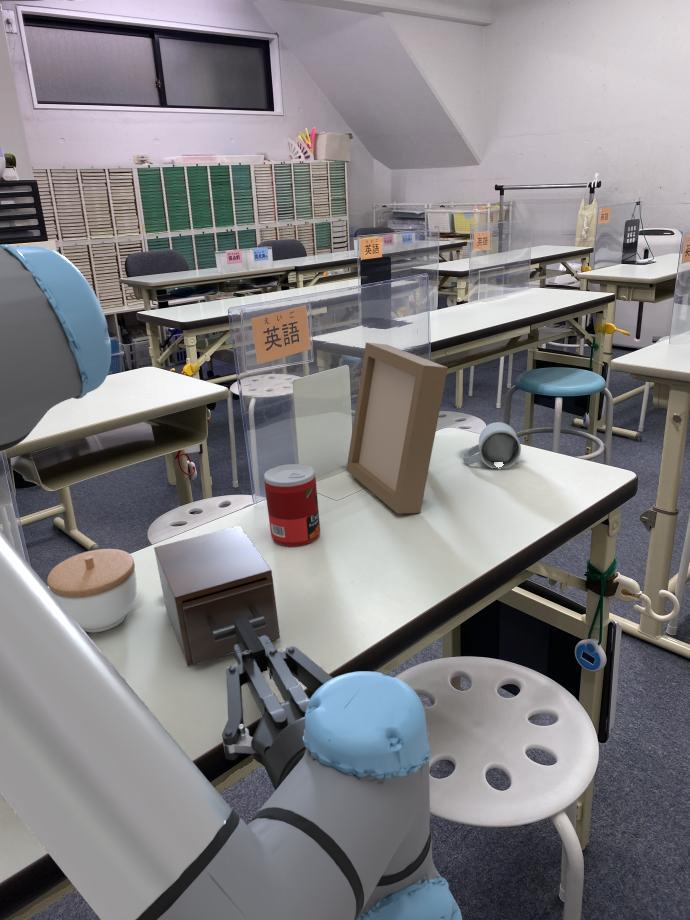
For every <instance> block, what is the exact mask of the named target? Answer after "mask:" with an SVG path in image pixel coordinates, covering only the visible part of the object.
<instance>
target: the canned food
mask: <svg viewBox="0 0 690 920" xmlns="http://www.w3.org/2000/svg"><path fill="white" fill-rule="evenodd" d="M315 472H316V471H315V469H314V468H313V467H311V466H309V465H306V464H299V463H289V464H282V465H278V466H274V467H272V468H270V469H268V470H267V471H265V472H264V474H263V481H264V492H265V499H266V507H267V514H268V515H267V516H268V520H269V521H268V523H269V530H270V536H271V538H272V540H273V542H274V543H276V544H279V545H281V546H283V547H301V546H305V545H308V544H312V543H313V542H314V541H316V540H317V539H318V538H319V536H320V533H321V524H320V523H321V522H320V511H319V501H318V500H319V499H318V489H317V479H316V473H315Z"/></svg>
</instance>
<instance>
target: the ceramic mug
mask: <svg viewBox="0 0 690 920" xmlns="http://www.w3.org/2000/svg"><path fill="white" fill-rule="evenodd" d="M521 453H522V445H521V441H520V440H519V438H518V436H517V434H516V431H515V429H514V428H513V427H512V426H510V425H509V424H507V423H506V422H501V421H498V422H497V421H496V422H492V423H489V424H487V425H486V426H485V427H484V428H483V429H482V431H481V432H480V435H479V436H478V444H475V445H474V446H472V447H470V448H468V449H467V450H465V451H464V452H463V454H462V460H463V462H464V464H465V465H474V464H477V463H479V462H482V463H483V464H484V465H486V466H487V467H489V468H491V469H493V468H498V467H496V466H495V465H494V462H503V464H504V465H503V466H502V467H499V468H506V469H509V468H511V467H513V466H514V465H515V464H516V463H517V461H518V460H519V458H520V456H521Z"/></svg>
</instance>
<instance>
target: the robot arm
mask: <svg viewBox="0 0 690 920" xmlns="http://www.w3.org/2000/svg"><path fill="white" fill-rule="evenodd" d="M106 318H107V317H106V316H105V313H104V310H103V307H102V305H101V303H100V301H99V299H98V297H97V295H96V292H95V291H94V290H93V288H92V286H91V284H90V283H89V282H88V280H87V278H86V277H85V276H84V275H83V273H82V272H81V271H80V269H78V268H77V267H76V265H75V264H73V263H72V262H71V261H70V260H69V259H68V258H67V257H65V256H64V255H62V254H61V253H59V252H58V251H56V250H53V249H51V248H47V247H45V246H41V245H21V246H11V245H9V244H0V454H1V453H3V452H6V451H8V450H11V449H13V448H14V447H16V446H18V445H19V444H20V443H22V442H23V441H25V440H26V438H28V436H29V435H30V434H31V433H32V432H33V430H34V429H35V428H36V427H37V425H38V424H39V423H40V422H41V420H42V419H43V418H44V417H45V415H47V413H49V411H50V410H51V409H52V408H54V407H56V406H57V405H59V404H61V403H62V402H65V401H69V400H71V399H75V400H79V399H83V398H84V397H85V396H86V395H87V394H89V393H91V392H93V391H96V390H97V389H99V388H100V387H101V385H103V384H104V382H105V381H106V379H107V377H108V375H109V372H110V367H111V362H112V343H111V337H110V334H109V331H108V330H109V329H108V322H107V319H106ZM234 625H235V632H236V639H237V642H238V644H237V645H234V658H235V661H236V663H237V665H231V666H228V667H227V668H226V671H225V673H226V675H225V676H226V695H227V697H226V699H227V721H226V724H225V726H224V728H223V731H222V733H221V739H222V744H223V749H224V756H225V759H226V760H228V761H234V760H236V759H237V758H239V756H240V754H247V755H252V757H253V759H254V760H255V761H256V762H257V763H258V764H260V765H262V766H263V767H264V768H265V771H266V773H267V776H268V778H269V780H270V782H271V785H272V787H273V789H274V792H273V793H272V794H271V795H270V797H269V798H267V800H266V801H265V802H264V804H263V805H262V806H261V807H260V809H259V810H258V811H257V812H256V814H254V816H253V817H252V818H251V820H250V821H249V822H248V823H247V824H246V822H245V821H244V820H243V819H242V817H240V816H239V815H238V814H237V813H236V811H235V810H234V809H233V808H232V807H231V806H230V805H229V804H228V803H227V801H226V800H225V799H224V798H223V797H222V795H221V794H220V793H219V792H218V790H217V789H216V788H215V787H214V785H213V784H212V783H211V782H210V780H209V779H208V778H207V777H206V776H205V775H204V774H203V772H202V771H201V769H200V768H199V767H197V765H196V764H195V763H194V761H193V760H192V759H191V758H190V757H189V755H188V754H187V753H186V752H185V751H184V749H183V748H182V747H181V746H180V745H179V743H178V742H177V741H176V740H175V739H174V738H173V736H172V735H171V733H169V731H168V730H167V729H166V728H165V726H164V725H163V724H162V722H160V720H159V719H158V718H157V717H156V715H154V713H153V712H152V711H151V709H149V707H148V706H147V704H145V702H144V701H143V700H142V699H141V697H139V695H138V694H137V693H136V692H135V690H134V689H133V688H132V687H131V686H130V685H129V683H128V682H127V681H126V680H125V678H124V677H123V676H122V675H121V673H120V672H119V671H118V670H117V669H116V668H115V666H114V665H113V663H111V661H110V660H109V659H108V657H106V655H105V654H104V653H103V652H102V651H101V649H100V648H99V646H97V644H96V643H95V642H94V641H93V639H91V637H90V636H89V635H88V634H87V632H85V631H84V630H83V629H82V628H81V627H80V625H79V624H78V623H77V622H76V621H75V619H74V618H73V617H72V616H71V614H70V613H69V612H68V611H67V610H66V608H65V607H64V606H63V605H62V604H61V602H60V601H59V600H58V599H57V598H56V596H55V595H54V594H53V593H52V592H51V590H50V589H49V586H48V585H47V583H45V582H44V581H43V579H42V578H41V577H40V576H39V574H38V573H37V572H36V571H35V570H34V569H33V568H32V566H31V565H30V563H28V561H27V560H26V559H25V558H24V556H23V555H22V554H21V553H20V552H19V550H18V549H17V548H16V547H15V546H14V544H13V543H12V542H11V541H10V539H9V538H8V537H7V536H6V535H5V533H3V531H2V530H1V529H0V794H1V796H2V797H3V798H4V800H5V801H6V802H7V803H8V804H9V806H10V807H11V808H12V809H13V811H14V812H15V813H16V815H17V816H18V817H19V818H20V819H21V821H22V822H23V824H24V825H25V826H26V827H27V829H29V831H30V833H31V834H32V835H33V836H34V837H35V839H36V840H37V841H38V842H39V843H40V845H41V847H43V849H44V850H45V851H46V852H47V854H48V855H49V857H50V858H51V859H52V860H53V861H54V863H55V864H56V865H57V866H58V868H59V869H60V870H61V871H62V873H63V874H64V875H65V876H66V878H67V879H68V880H69V882H71V884H72V885H73V886H74V888H75V889H76V890H77V891H78V893H79V894H80V895H81V897H82V898H83V899H84V901H85V902H86V903H87V904H88V905H89V907H90V908H91V909H92V910H93V911H94V913H95V914H96V915H97V917H98V919H100V920H463V916H462V913H461V909H460V907H459V905H458V903H457V901H456V900H455V898H454V896H453V894H452V893H451V890H450V889H449V888H450V887H449V886H450V884H449V882H448V881H447V879H445V877H443V876H441V874H440V873H439V871H438V870H437V868H436V866H435V862H434V860H433V844H432V842H433V839H432V838H433V837H432V828H431V805H430V803H431V797H430V796H431V793H430V790H431V789H430V785H431V784H430V760H431V753H432V748H431V744H430V742H429V736H428V726H427V718H426V711H425V707H424V705H423V702H422V700H421V698H420V696H419V695H418V694H417V693H416V691H415V690H414V689H413V688H412V687H411V686H410V685H409V684H407V683H406V682H405V681H403V680H401V679H400V678H397V677H392V676H391V675H386V674H383V673H382V672H378V671H371V670H370V671H369V670H368V671H365V670H363V671H361V670H360V671H353V672H347V673H344V674H343V673H342V674H341V675H340V674H339V675H337V676H335V677H333V676H332V675H330V674H329V673H328V672H326V671H325V670H324V669H323V668H322V667H321V666H319V664H317V663H316V662H314V661H313V660H312V659H311V658H309V656H308V655H306V654H305V653H304V652H302V651H301V650H299V648H297V647H296V646H294V645H293V646H288V647H286V648H285V650H283V651H282V650H281V651H280V650H279V649H277V648H275V645H274V644H273V641H270V639H269V637H267V636H266V635H264V636H261V637H258V636H257V634H256V632H255V630H254V629H253V627H252V625H251V623H250V622H249V620H248V618H247V617H244V618H241V619H238V620H235V621H234ZM265 672H268V674H269V680H272V681H273V682H274V685H275V686H276V688H277V690H278V692H279V694H280V695H281V698H282V699H283V701H284V702H280V701H279V699H278V697H277V696H276V694H275V693H273V691H272V690H271V688H270V686H269V684H268V682H267V681H266V679H265V677H264V675H263V673H265ZM297 681H298V682H299V683H301V684H302V685H303V686H304V687H305V688H306V689H307V690H308V691H309V692H311V693H312V695H311V697H308V695H307V694H306V691H305V690H304V688H303V687H302V685H301V684H299V683H298V682H297ZM244 685H246V686H247V689H248V690H249V692H250V695H251V697H252V699H253V700H254V703H255V705H256V707H257V709H258V710H259V714H260V715H261V717H260V720H259V722H258V725H257V727H256V729H255V731H254V733H253V736H251V735H250V730H249V729H248V728H247V727H246V726H245V720H244V719H245V718H244V704H243V689H242V688H243V687H242V686H244Z"/></svg>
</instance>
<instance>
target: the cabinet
mask: <svg viewBox="0 0 690 920" xmlns="http://www.w3.org/2000/svg"><path fill="white" fill-rule="evenodd" d="M153 549H154V554H155V555H154V556H155V560H156V565H157V569H158V575H159V580H160V585H161V586H160V587H161V589H162V591H161V592H162V595H163V601H164V607H165V611H166V614H167V616H168V619H169V622H170V624H171V626H172V627H171V628H172V630H173V632H174V634H175V635H174V636H175V638H176V640H177V643H178V646H179V649H180V651H181V654H182V656H183V659H184V662H185V663H186V667H191V666H194V665H193V662H192V659H191V654H190V648H189V643H188V637H187V632H186V626H185V621H184V615H183V610H182V603H183V602H182V601H185V600H188V599H192V598H195V597H199V596H202V595H206V594H210V593H213V592H217V591H220V590H224V589H227V588H231V587H234V586H238V585H241V584H245V583H248V582H252V581H255V580H259V579H260V581H263V580H266V579H269V581H270V582H271V584H272V592H273V600H274V608H275V617H276V625H277V633H278V639H279V638H280V637H281V635H280V626H279V617H278V611H277V609H278V608H277V601H276V593H275V585H274V577H273V570H272V569H271V567H270V566H269V564H268V563H267V561H266V560H265V559H264V558H263V556H262V554H261V553H260V551H258V548H256V546H255V545H254V543H253V541H252V540H251V539H250V538H249V536H248V535H247V533H246V532H245V531H244V529H243V528H242V526H241V525H237V526H233V527H230V528H224V529H222V530H217V531H214V532H210V533H205V534H202V535H198V536H197V535H196V536H194V537H189V538H186V539H181V540H177V541H174V542H170V543H166V544H162V545H157V546H154V547H153Z"/></svg>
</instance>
